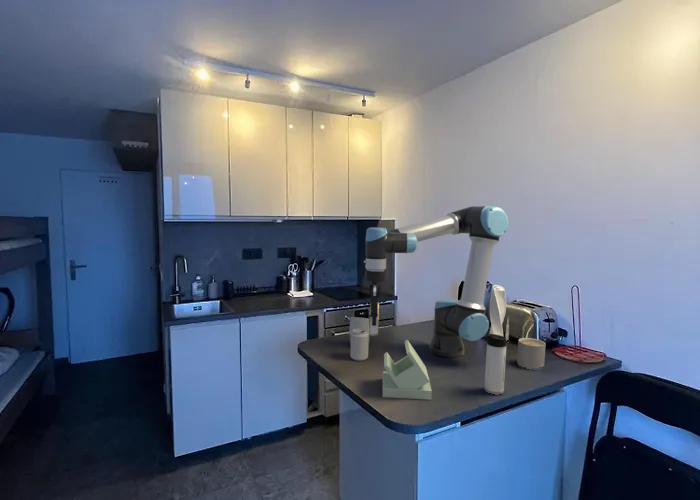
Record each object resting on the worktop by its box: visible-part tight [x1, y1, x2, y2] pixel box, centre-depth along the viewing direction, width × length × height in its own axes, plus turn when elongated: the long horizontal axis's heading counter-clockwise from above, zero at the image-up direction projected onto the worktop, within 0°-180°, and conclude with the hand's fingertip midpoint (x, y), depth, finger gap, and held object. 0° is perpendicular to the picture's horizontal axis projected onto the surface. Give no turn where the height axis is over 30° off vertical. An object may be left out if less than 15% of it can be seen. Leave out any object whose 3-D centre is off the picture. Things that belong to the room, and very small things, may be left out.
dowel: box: [369, 302, 380, 337], centre depth 147 cm, size 3×3×12 cm
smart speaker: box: [348, 316, 371, 345], centre depth 181 cm, size 10×9×14 cm
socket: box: [382, 339, 433, 401], centre depth 136 cm, size 16×14×16 cm
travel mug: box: [484, 333, 507, 396], centre depth 136 cm, size 6×7×20 cm
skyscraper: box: [488, 284, 510, 341], centre depth 191 cm, size 8×8×28 cm
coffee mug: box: [516, 337, 546, 368], centre depth 161 cm, size 13×10×10 cm
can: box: [349, 329, 370, 362], centre depth 165 cm, size 8×8×12 cm
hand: (373, 331), depth 147 cm, fingers closed on dowel, 3 cm apart
